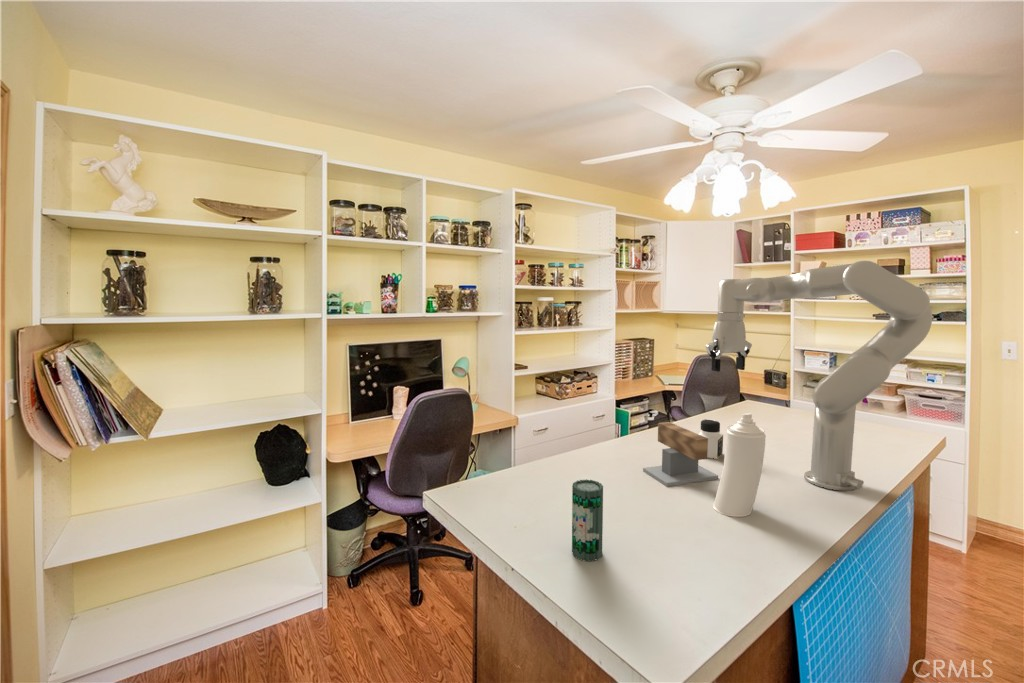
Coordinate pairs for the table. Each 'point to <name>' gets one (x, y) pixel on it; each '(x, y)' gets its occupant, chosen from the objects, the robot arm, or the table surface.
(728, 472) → the spray can
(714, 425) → the medicine bottle
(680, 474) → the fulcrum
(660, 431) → the walnut bar
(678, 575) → the table surface
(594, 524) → the can
